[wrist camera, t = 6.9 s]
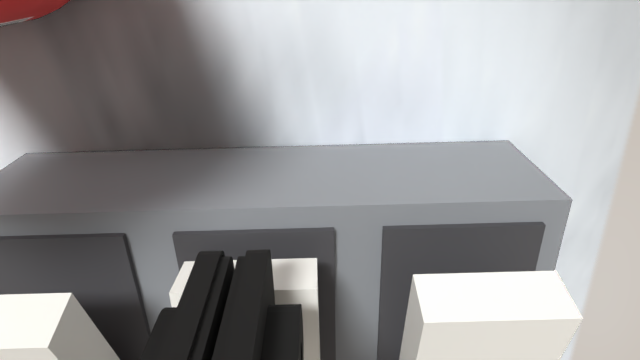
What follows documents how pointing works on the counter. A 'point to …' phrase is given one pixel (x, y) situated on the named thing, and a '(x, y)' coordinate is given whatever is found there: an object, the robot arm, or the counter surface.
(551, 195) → the switch unit
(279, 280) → the rocker
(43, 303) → the rocker
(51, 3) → the canned food
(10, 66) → the counter surface
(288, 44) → the counter surface
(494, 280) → the rocker
